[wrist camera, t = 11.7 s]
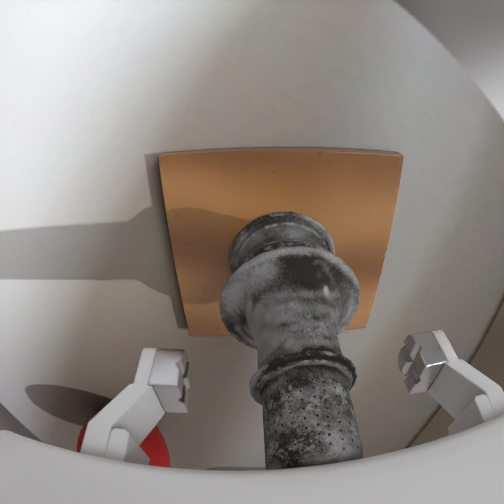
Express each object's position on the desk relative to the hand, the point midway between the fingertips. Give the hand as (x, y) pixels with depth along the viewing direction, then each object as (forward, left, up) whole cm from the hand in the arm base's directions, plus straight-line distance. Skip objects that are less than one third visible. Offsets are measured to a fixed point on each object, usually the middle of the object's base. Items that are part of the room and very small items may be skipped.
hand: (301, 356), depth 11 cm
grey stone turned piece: (0, 0, -6) cm, 6 cm away
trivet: (0, 0, -7) cm, 7 cm away
